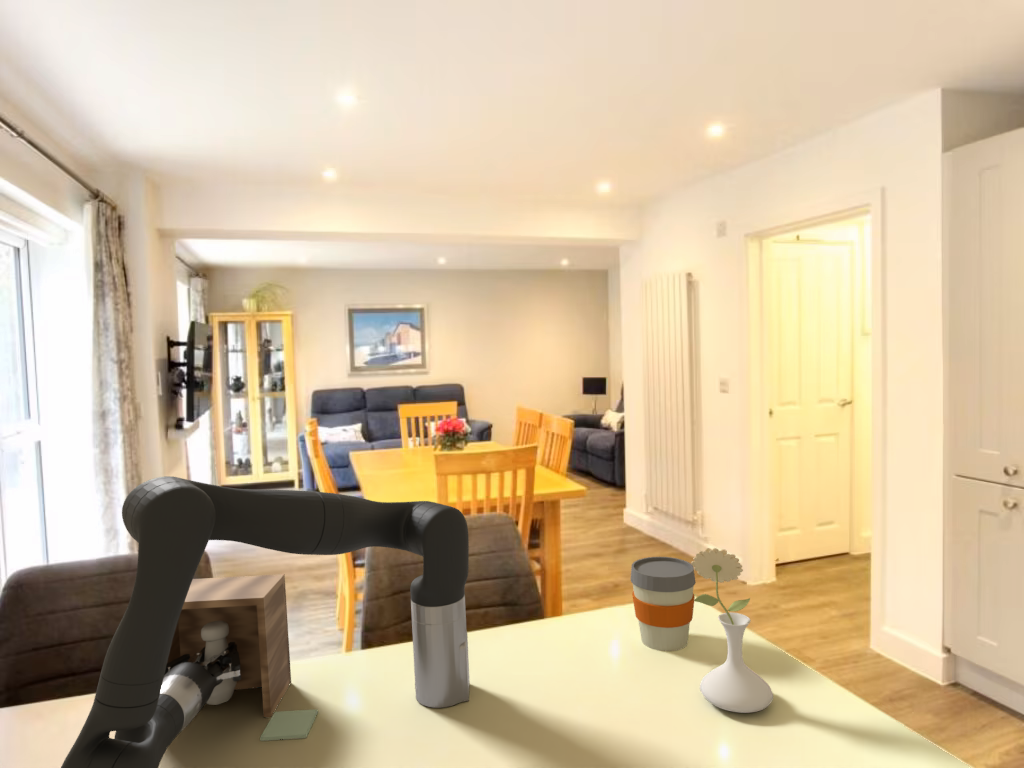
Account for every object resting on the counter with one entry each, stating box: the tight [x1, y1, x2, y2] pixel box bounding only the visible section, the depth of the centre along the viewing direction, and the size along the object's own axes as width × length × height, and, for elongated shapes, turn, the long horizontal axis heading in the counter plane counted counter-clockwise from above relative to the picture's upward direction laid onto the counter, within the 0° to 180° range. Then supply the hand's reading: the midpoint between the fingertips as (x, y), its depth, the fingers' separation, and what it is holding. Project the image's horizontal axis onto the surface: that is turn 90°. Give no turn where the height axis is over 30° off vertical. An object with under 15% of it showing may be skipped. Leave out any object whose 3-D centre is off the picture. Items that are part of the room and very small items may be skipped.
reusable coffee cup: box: [630, 556, 696, 652], centre depth 128 cm, size 13×13×15 cm
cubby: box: [167, 573, 292, 718], centre depth 111 cm, size 20×11×20 cm, turn 92°
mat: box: [259, 708, 319, 742], centre depth 104 cm, size 7×7×1 cm
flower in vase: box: [690, 547, 774, 714], centre depth 106 cm, size 13×11×25 cm
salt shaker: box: [201, 621, 237, 706], centre depth 110 cm, size 6×6×13 cm
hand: (222, 647), depth 112 cm, fingers closed on salt shaker, 3 cm apart
